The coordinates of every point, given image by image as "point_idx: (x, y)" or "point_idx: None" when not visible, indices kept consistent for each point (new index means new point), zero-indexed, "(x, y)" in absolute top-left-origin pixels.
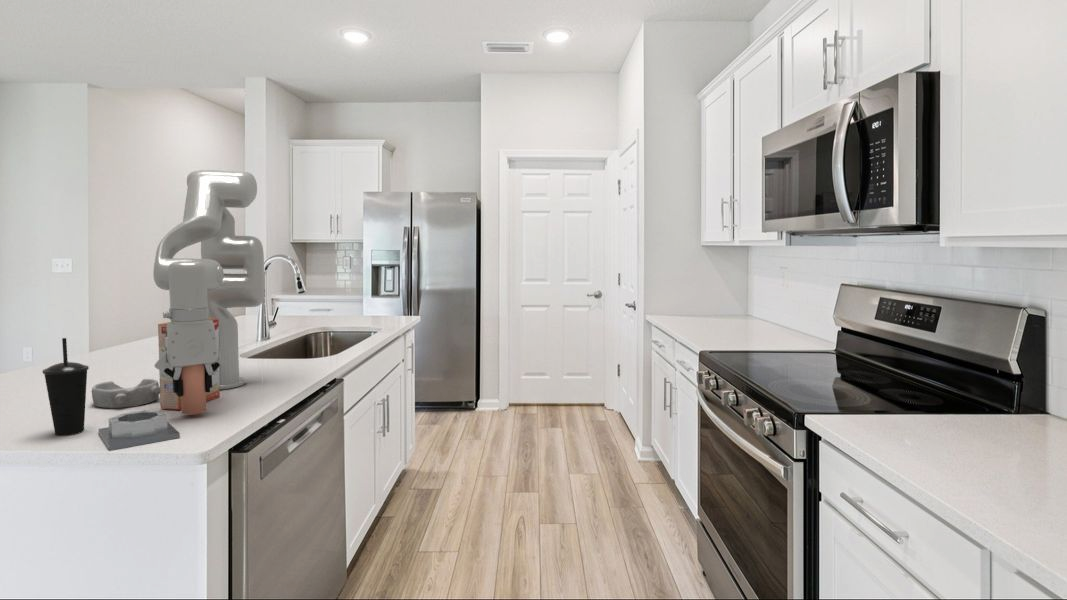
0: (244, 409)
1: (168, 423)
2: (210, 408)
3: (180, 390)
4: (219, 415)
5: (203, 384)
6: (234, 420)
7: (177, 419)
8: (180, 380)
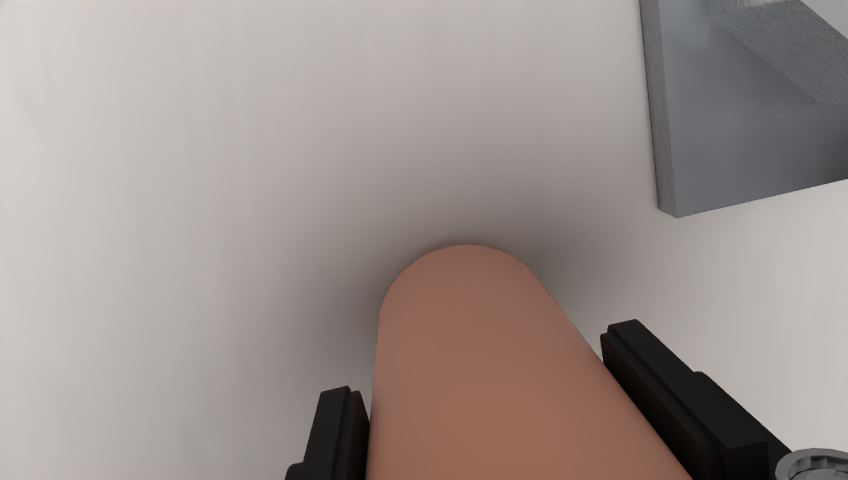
0: (113, 349)
1: (668, 29)
2: None
3: (653, 351)
4: (287, 252)
5: (384, 431)
6: (159, 29)
7: (570, 270)
8: (730, 437)
